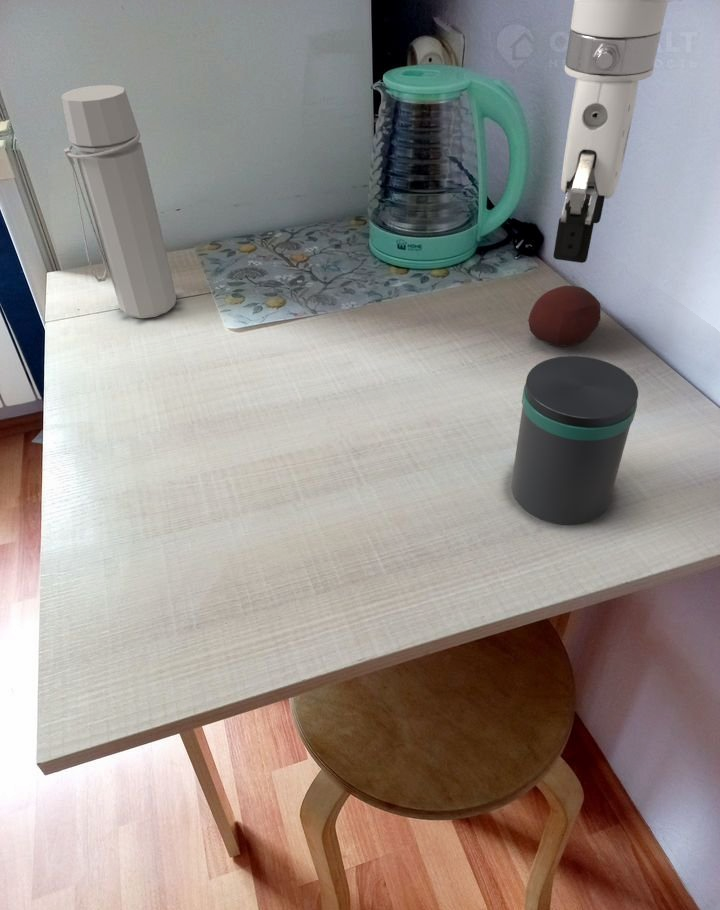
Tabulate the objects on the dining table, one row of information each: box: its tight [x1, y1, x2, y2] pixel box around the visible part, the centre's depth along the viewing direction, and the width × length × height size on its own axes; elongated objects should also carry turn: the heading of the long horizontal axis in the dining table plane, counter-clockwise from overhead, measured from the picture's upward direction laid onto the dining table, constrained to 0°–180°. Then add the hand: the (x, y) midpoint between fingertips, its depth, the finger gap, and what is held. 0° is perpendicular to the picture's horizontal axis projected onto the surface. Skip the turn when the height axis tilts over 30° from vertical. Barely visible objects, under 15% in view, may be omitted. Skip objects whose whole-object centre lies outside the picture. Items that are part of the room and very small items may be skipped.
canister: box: [511, 355, 639, 526], centre depth 58 cm, size 9×9×11 cm
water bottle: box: [61, 84, 177, 319], centre depth 82 cm, size 9×8×25 cm
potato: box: [528, 285, 602, 347], centre depth 79 cm, size 7×8×6 cm
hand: (577, 239), depth 73 cm, fingers open, 9 cm apart
